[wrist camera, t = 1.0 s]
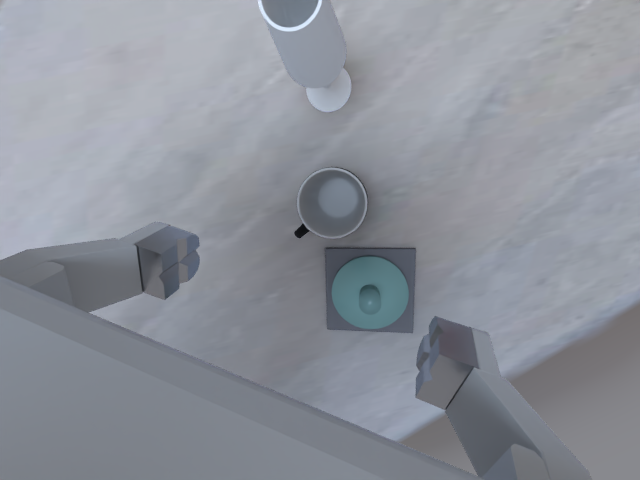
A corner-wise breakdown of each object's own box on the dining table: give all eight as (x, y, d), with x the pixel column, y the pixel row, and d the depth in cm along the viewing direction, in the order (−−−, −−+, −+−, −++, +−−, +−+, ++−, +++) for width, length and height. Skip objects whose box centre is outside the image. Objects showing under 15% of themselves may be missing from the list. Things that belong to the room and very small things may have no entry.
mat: (412, 330, 51) (412, 333, 50) (327, 327, 53) (327, 329, 52) (414, 248, 48) (415, 249, 47) (325, 247, 50) (325, 249, 49)
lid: (406, 327, 50) (411, 344, 45) (333, 324, 52) (329, 340, 46) (408, 255, 47) (414, 265, 42) (331, 255, 49) (327, 264, 44)
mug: (340, 155, 47) (334, 151, 37) (379, 200, 47) (383, 206, 37) (285, 208, 49) (265, 217, 40) (322, 249, 50) (312, 268, 40)
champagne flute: (309, 59, 44) (249, -67, 21) (355, 65, 44) (345, -60, 20) (302, 109, 46) (239, 41, 23) (347, 115, 45) (329, 52, 22)
